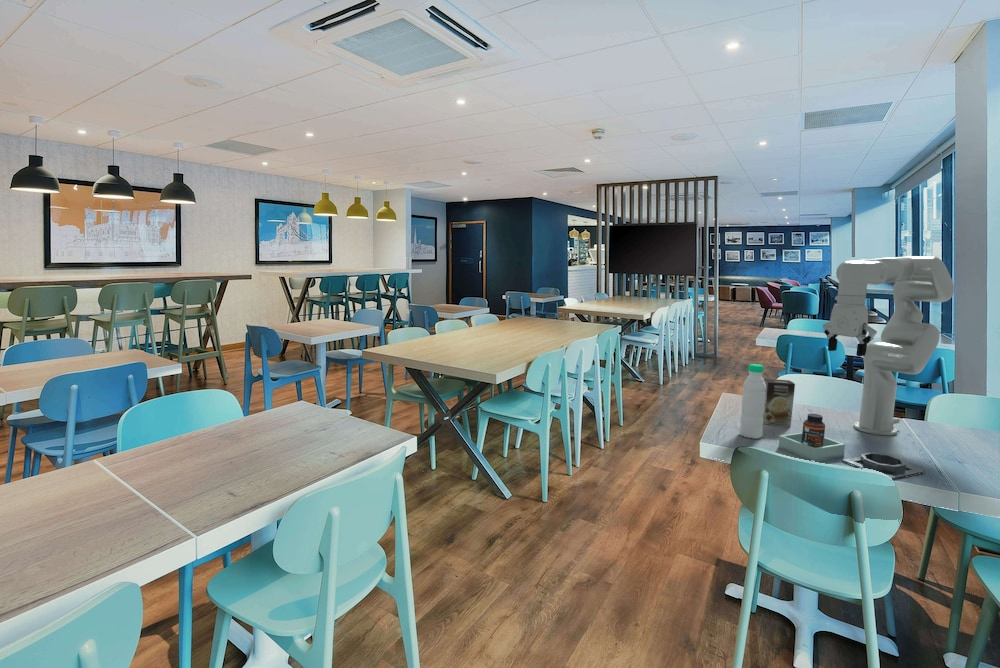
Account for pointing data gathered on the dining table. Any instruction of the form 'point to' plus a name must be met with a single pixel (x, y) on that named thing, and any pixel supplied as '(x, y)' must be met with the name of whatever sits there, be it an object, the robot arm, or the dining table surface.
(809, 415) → the supplement bottle
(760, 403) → the water bottle
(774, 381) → the coffee box
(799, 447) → the bin
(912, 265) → the robot arm
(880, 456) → the square bottle holder
